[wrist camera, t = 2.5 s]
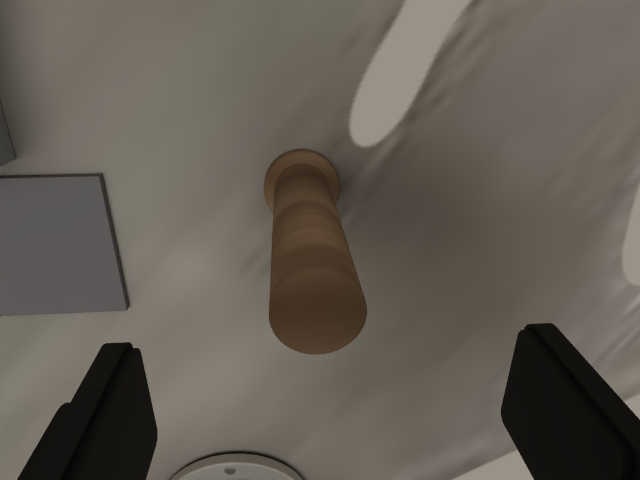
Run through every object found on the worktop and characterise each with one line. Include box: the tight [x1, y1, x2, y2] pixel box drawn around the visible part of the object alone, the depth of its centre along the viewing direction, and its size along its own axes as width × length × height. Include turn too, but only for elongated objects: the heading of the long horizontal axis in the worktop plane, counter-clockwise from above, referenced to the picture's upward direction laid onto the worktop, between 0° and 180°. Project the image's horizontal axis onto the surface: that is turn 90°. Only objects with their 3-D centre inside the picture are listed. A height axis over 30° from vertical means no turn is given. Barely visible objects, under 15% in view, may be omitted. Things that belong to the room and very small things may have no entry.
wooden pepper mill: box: [264, 149, 367, 354], centre depth 21 cm, size 4×4×14 cm
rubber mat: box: [0, 174, 129, 316], centre depth 28 cm, size 9×9×1 cm
